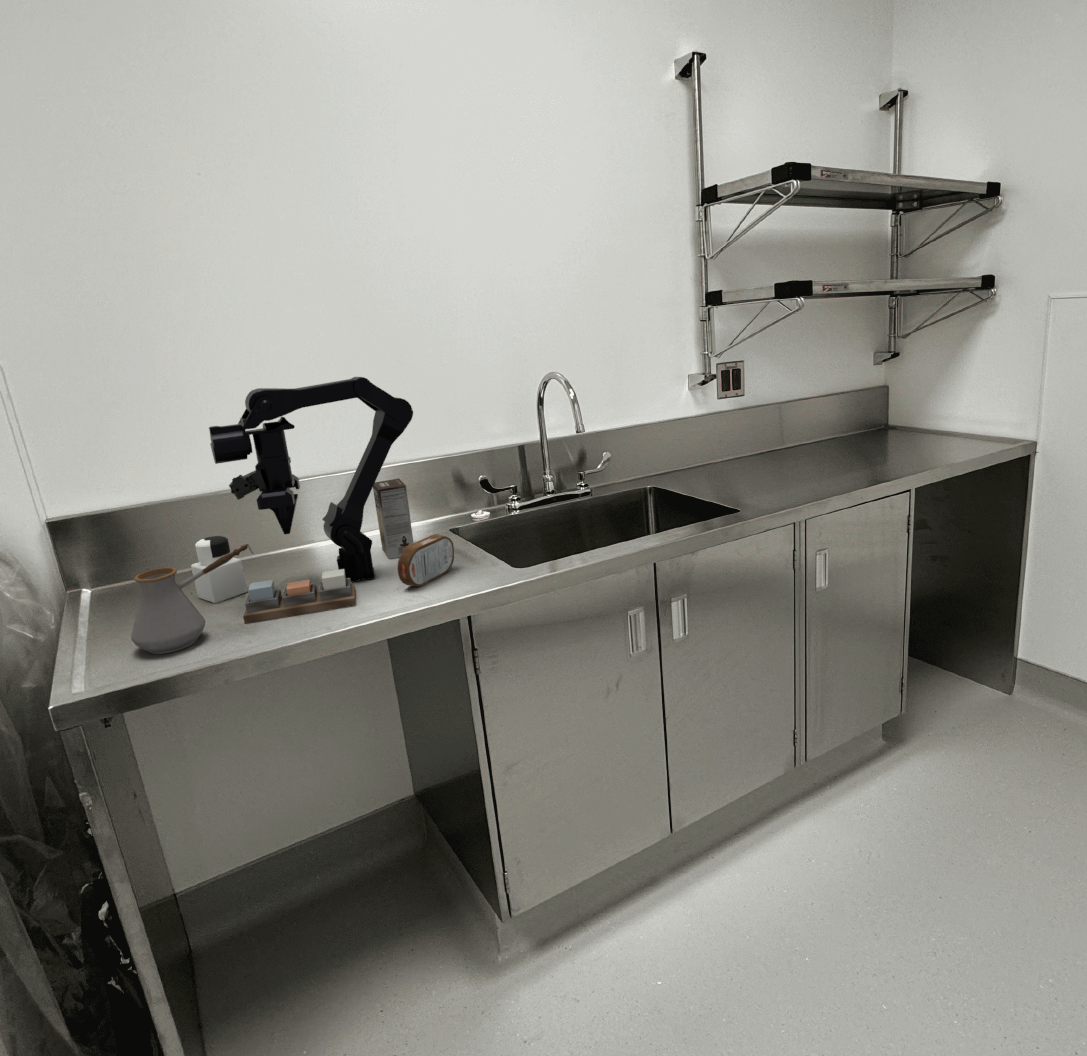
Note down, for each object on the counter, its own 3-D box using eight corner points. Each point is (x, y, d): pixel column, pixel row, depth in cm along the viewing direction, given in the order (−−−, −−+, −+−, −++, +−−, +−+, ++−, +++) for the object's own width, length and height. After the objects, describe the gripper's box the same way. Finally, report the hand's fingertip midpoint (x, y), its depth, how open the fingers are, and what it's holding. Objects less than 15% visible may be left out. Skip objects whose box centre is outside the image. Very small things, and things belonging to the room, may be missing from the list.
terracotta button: (312, 594, 140) (310, 579, 139) (311, 601, 136) (308, 585, 135) (290, 597, 139) (288, 582, 138) (289, 604, 135) (286, 589, 135)
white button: (346, 583, 141) (344, 568, 140) (346, 590, 137) (344, 575, 137) (325, 586, 140) (322, 572, 139) (324, 593, 137) (321, 578, 136)
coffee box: (381, 549, 171) (371, 482, 166) (408, 544, 173) (399, 477, 169) (388, 559, 162) (377, 489, 158) (416, 554, 165) (407, 484, 160)
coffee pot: (132, 665, 119) (109, 578, 114) (137, 640, 129) (116, 559, 125) (270, 633, 127) (254, 550, 123) (265, 612, 137) (249, 535, 133)
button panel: (355, 590, 144) (352, 575, 143) (355, 605, 136) (352, 588, 135) (250, 607, 140) (247, 591, 139) (244, 623, 132) (241, 606, 131)
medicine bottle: (230, 586, 154) (219, 531, 150) (248, 592, 149) (236, 535, 146) (197, 597, 148) (184, 541, 145) (214, 604, 144) (201, 545, 141)
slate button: (276, 594, 138) (273, 579, 138) (274, 601, 135) (271, 586, 134) (253, 598, 138) (250, 583, 137) (251, 605, 134) (247, 590, 133)
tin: (447, 566, 154) (442, 528, 152) (459, 568, 152) (454, 529, 150) (399, 591, 142) (393, 550, 140) (411, 593, 140) (405, 551, 138)
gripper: (235, 453, 147) (250, 528, 151) (219, 469, 129) (237, 553, 133) (293, 446, 149) (306, 520, 153) (285, 461, 132) (300, 543, 136)
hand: (287, 533), depth 144 cm, fingers closed
